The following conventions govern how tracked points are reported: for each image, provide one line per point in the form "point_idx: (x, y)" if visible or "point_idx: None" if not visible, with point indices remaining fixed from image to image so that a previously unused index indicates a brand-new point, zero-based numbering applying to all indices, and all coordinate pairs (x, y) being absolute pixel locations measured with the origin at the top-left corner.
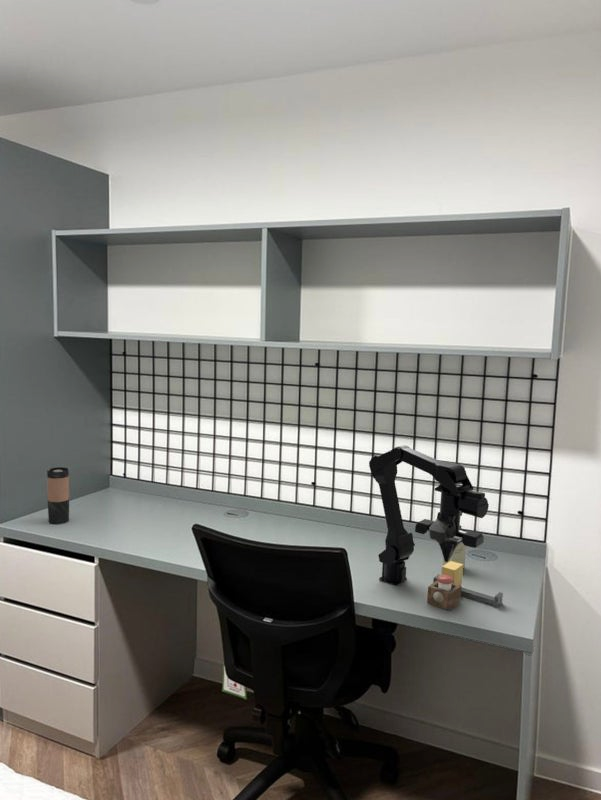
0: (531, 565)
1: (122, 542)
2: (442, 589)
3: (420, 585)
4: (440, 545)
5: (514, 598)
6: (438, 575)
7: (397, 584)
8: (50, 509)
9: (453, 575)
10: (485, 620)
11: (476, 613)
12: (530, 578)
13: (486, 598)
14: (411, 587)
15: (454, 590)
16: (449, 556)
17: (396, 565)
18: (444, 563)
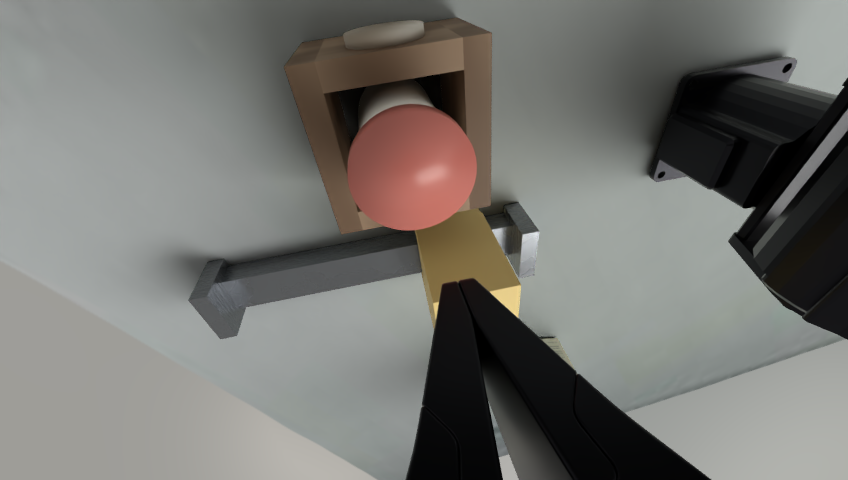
0: (381, 469)
1: None
2: (379, 80)
3: (574, 178)
4: (661, 462)
5: (251, 353)
6: (529, 264)
7: (683, 81)
8: None
9: (431, 275)
10: (91, 108)
11: (198, 143)
12: (332, 441)
13: (264, 274)
14: (605, 126)
15: (313, 141)
16: (434, 351)
17: (794, 130)
18: (558, 352)
